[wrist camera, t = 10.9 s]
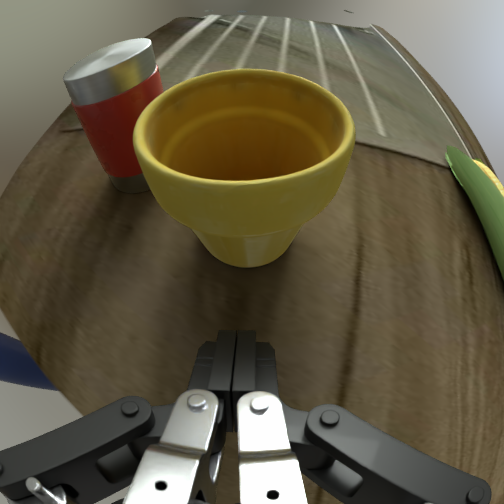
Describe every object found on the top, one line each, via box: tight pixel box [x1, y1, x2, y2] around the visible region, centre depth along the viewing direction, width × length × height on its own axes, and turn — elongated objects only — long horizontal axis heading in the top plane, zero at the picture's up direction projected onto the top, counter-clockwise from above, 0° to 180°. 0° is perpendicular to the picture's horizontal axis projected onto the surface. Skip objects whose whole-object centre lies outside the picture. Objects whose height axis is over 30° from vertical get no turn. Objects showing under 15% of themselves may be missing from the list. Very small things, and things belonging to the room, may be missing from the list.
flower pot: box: [133, 69, 356, 268], centre depth 16 cm, size 10×10×10 cm
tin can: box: [63, 38, 163, 193], centre depth 18 cm, size 7×7×12 cm
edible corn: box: [445, 146, 504, 281], centre depth 18 cm, size 5×20×5 cm, turn 9°
